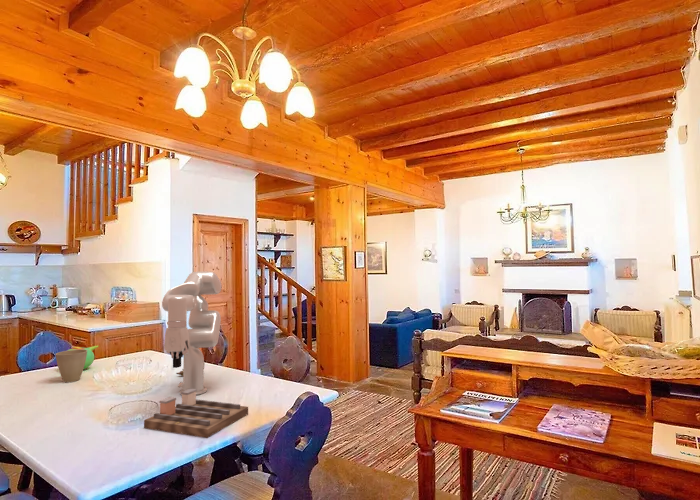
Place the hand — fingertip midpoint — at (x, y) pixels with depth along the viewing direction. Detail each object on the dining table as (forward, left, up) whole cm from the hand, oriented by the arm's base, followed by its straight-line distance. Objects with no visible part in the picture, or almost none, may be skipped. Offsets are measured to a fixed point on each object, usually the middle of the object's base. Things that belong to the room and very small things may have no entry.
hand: (177, 366), depth 180 cm
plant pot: (-95, +22, -19) cm, 99 cm away
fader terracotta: (+6, -12, -16) cm, 21 cm away
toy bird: (-116, +42, -19) cm, 124 cm away
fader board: (+16, -6, -19) cm, 26 cm away
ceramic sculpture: (-38, +53, -20) cm, 68 cm away
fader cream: (+6, 0, -16) cm, 17 cm away
